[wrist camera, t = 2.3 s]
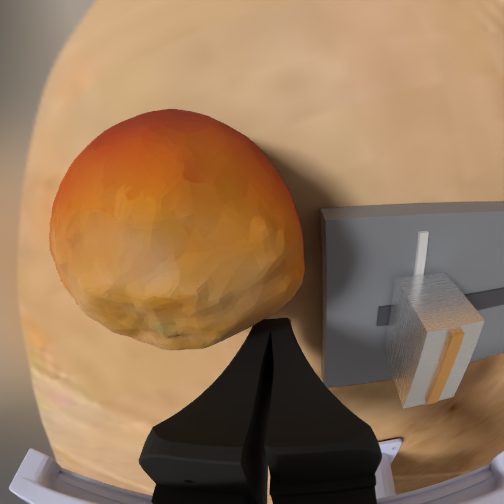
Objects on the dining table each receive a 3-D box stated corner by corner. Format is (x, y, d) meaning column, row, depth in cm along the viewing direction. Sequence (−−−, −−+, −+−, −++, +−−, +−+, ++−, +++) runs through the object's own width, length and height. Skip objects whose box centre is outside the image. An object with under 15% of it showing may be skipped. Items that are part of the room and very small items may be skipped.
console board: (531, 326, 14) (547, 345, 12) (321, 368, 16) (325, 399, 14) (564, 202, 10) (587, 215, 8) (320, 208, 12) (328, 227, 10)
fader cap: (428, 344, 13) (455, 400, 9) (383, 351, 13) (404, 412, 10) (444, 272, 11) (487, 323, 8) (394, 277, 11) (429, 336, 8)
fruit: (276, 44, 9) (315, 219, 4) (294, 200, 15) (311, 365, 10) (74, 97, 10) (-34, 266, 5) (144, 219, 16) (113, 365, 11)
